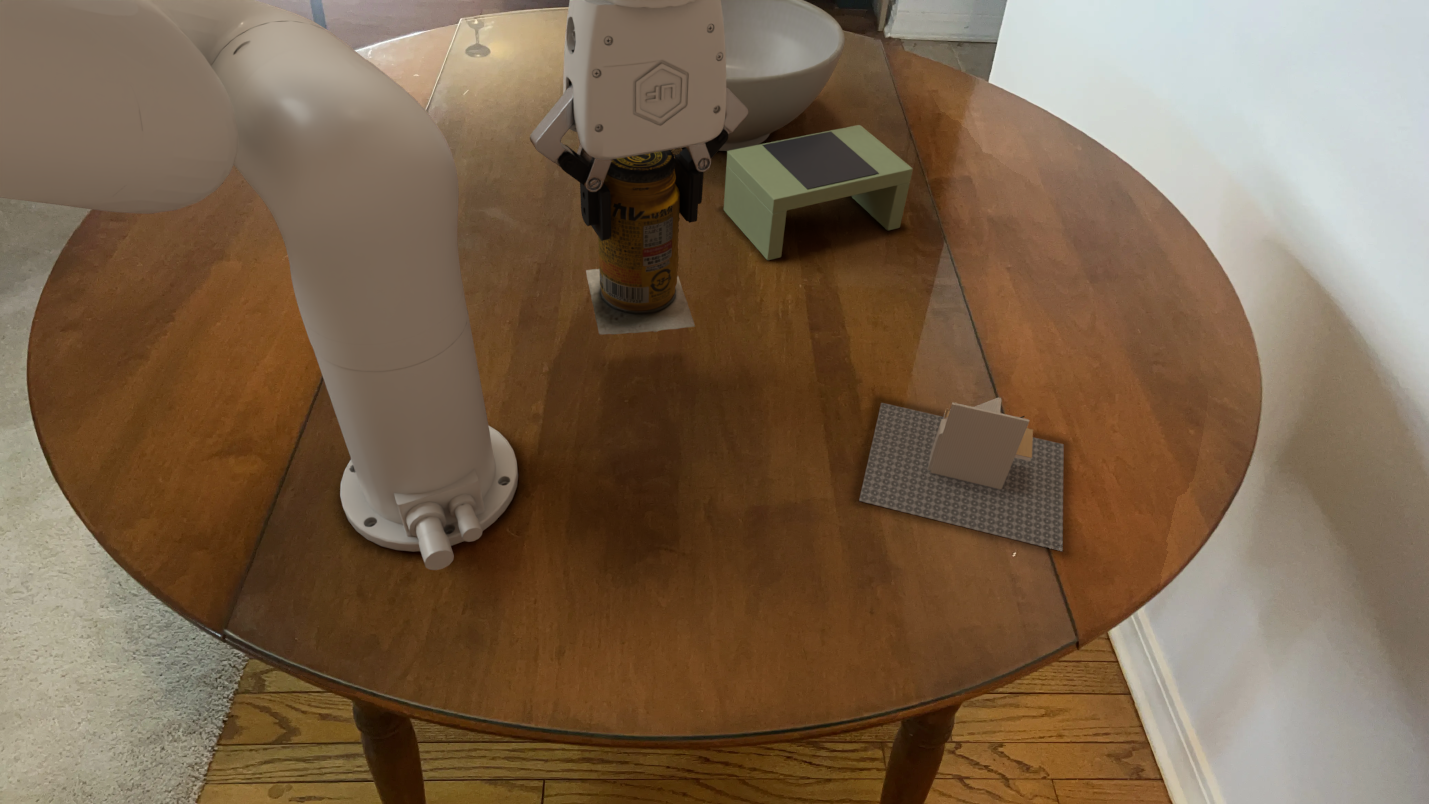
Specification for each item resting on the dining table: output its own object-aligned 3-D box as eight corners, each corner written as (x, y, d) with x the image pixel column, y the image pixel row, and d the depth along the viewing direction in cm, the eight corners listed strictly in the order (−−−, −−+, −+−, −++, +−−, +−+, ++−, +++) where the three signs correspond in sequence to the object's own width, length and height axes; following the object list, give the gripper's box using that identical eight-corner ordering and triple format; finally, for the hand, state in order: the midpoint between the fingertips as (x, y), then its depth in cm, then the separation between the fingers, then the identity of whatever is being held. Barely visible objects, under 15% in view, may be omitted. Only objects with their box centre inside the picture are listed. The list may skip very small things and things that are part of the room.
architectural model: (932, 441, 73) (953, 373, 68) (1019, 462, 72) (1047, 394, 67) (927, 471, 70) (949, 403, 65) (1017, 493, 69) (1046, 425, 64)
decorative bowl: (630, 193, 98) (628, 86, 89) (595, 84, 116) (590, -13, 108) (861, 173, 103) (880, 71, 95) (792, 73, 122) (803, -21, 113)
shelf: (900, 227, 95) (913, 167, 91) (767, 260, 90) (774, 198, 85) (850, 182, 102) (860, 123, 97) (723, 210, 96) (727, 149, 91)
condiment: (674, 265, 74) (677, 129, 66) (695, 328, 68) (701, 187, 60) (585, 272, 73) (577, 134, 65) (599, 337, 67) (592, 195, 59)
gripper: (522, -3, 48) (544, 274, 61) (800, -31, 54) (769, 225, 67) (484, -48, 53) (512, 217, 65) (744, -69, 59) (724, 177, 72)
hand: (642, 219), depth 66 cm, fingers closed on condiment, 6 cm apart
